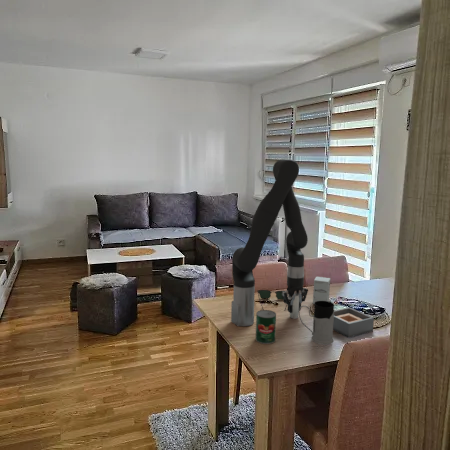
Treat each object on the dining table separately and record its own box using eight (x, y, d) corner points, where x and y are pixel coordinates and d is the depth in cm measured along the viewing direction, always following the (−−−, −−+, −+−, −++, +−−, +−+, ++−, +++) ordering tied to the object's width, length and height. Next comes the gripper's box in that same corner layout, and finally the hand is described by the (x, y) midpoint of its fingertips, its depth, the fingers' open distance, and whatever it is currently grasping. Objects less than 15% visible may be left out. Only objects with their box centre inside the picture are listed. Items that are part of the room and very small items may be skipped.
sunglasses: (256, 310, 195) (256, 300, 194) (257, 298, 211) (257, 289, 211) (291, 311, 193) (291, 301, 193) (289, 299, 210) (289, 290, 209)
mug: (334, 345, 158) (336, 308, 155) (297, 342, 160) (299, 306, 158) (332, 335, 166) (334, 300, 164) (297, 333, 168) (298, 298, 166)
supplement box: (312, 304, 203) (313, 279, 201) (314, 299, 210) (315, 276, 208) (327, 306, 200) (328, 281, 198) (329, 301, 207) (330, 277, 205)
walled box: (348, 337, 164) (349, 323, 163) (324, 325, 177) (325, 312, 176) (372, 331, 171) (373, 317, 170) (348, 319, 183) (349, 307, 182)
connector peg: (293, 319, 183) (294, 293, 181) (287, 316, 187) (288, 291, 185) (300, 317, 185) (301, 292, 183) (294, 314, 189) (295, 290, 187)
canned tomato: (261, 345, 157) (262, 318, 155) (252, 337, 164) (252, 311, 162) (279, 341, 160) (279, 315, 158) (269, 334, 167) (269, 308, 166)
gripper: (287, 279, 176) (286, 316, 179) (313, 275, 183) (311, 311, 186) (277, 275, 183) (276, 311, 186) (302, 271, 189) (301, 306, 192)
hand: (294, 311), depth 186 cm, fingers closed on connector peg, 4 cm apart
